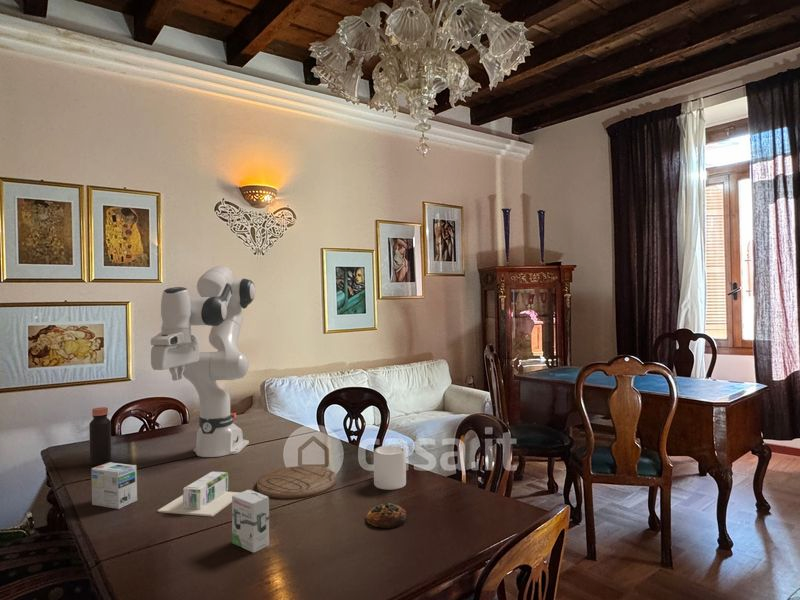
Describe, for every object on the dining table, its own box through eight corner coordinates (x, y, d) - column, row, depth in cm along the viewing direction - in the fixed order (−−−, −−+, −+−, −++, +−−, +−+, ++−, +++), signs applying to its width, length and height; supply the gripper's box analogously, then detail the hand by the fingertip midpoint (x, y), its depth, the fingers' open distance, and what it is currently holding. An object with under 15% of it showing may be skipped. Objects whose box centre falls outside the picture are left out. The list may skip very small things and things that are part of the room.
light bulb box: (138, 500, 150) (137, 464, 150) (118, 509, 143) (118, 472, 143) (110, 496, 153) (110, 461, 153) (90, 505, 147) (90, 468, 147)
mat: (192, 490, 157) (192, 489, 157) (242, 494, 153) (242, 492, 153) (157, 512, 141) (157, 510, 141) (212, 516, 138) (212, 514, 138)
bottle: (85, 464, 183) (84, 409, 183) (102, 459, 190) (102, 406, 190) (98, 466, 181) (97, 411, 181) (115, 461, 187) (114, 407, 187)
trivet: (298, 466, 179) (298, 461, 179) (352, 480, 165) (352, 474, 165) (240, 488, 159) (240, 482, 159) (295, 506, 145) (295, 500, 145)
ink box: (230, 543, 122) (230, 494, 122) (247, 535, 126) (247, 488, 126) (253, 553, 117) (252, 503, 117) (270, 545, 121) (269, 496, 121)
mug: (367, 477, 167) (366, 444, 167) (396, 473, 171) (395, 441, 171) (379, 491, 154) (379, 456, 154) (410, 486, 158) (410, 452, 158)
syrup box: (228, 490, 155) (201, 509, 141) (211, 489, 157) (182, 508, 142) (228, 472, 155) (200, 489, 141) (211, 470, 157) (182, 488, 142)
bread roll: (393, 532, 127) (391, 512, 128) (358, 528, 133) (356, 508, 133) (415, 518, 136) (413, 499, 137) (381, 514, 142) (380, 496, 143)
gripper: (187, 334, 174) (188, 374, 175) (146, 340, 154) (147, 385, 155) (203, 334, 173) (204, 374, 173) (164, 340, 153) (165, 385, 153)
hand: (177, 379), depth 164 cm, fingers closed
